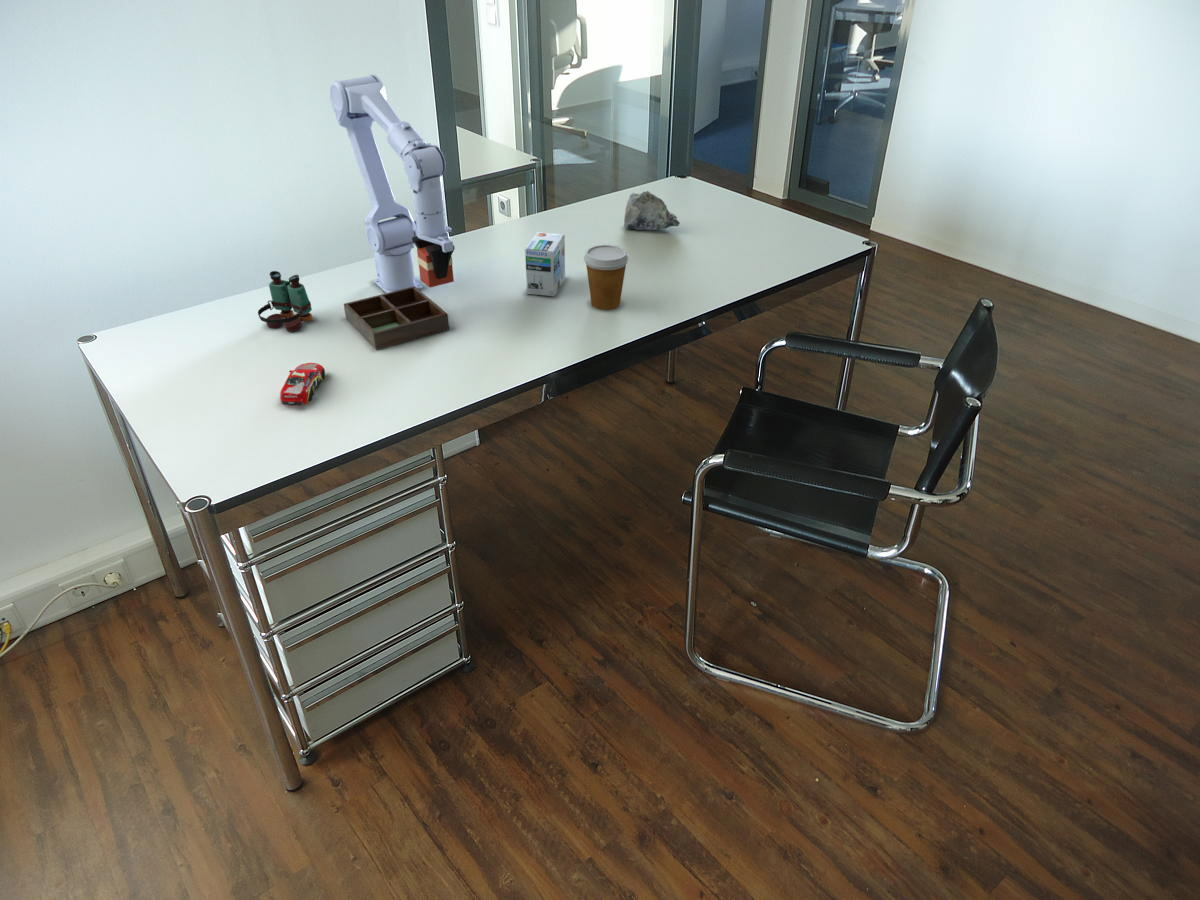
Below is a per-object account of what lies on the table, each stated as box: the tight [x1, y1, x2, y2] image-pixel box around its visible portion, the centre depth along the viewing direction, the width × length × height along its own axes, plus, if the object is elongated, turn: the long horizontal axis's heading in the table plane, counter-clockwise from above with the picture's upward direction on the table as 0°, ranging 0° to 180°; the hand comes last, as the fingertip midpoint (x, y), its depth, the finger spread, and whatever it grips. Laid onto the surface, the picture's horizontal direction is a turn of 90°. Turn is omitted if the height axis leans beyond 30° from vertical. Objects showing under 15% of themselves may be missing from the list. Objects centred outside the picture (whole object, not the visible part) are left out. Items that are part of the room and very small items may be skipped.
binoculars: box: [257, 270, 314, 333], centre depth 175 cm, size 9×11×10 cm
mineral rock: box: [623, 190, 681, 231], centre depth 222 cm, size 13×11×10 cm
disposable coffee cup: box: [583, 244, 630, 311], centre depth 185 cm, size 10×10×12 cm
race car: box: [279, 362, 326, 407], centre depth 156 cm, size 13×5×4 cm, turn 177°
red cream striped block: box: [416, 245, 455, 289], centre depth 178 cm, size 4×6×7 cm
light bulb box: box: [524, 231, 566, 298], centre depth 192 cm, size 11×7×11 cm, turn 168°
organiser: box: [343, 286, 450, 351], centre depth 178 cm, size 16×16×4 cm
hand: (436, 273), depth 179 cm, fingers closed on red cream striped block, 4 cm apart
